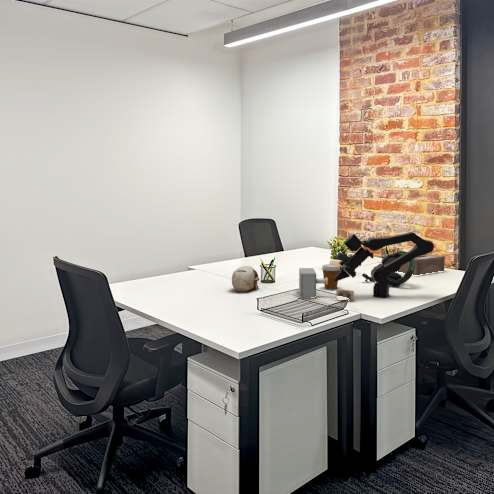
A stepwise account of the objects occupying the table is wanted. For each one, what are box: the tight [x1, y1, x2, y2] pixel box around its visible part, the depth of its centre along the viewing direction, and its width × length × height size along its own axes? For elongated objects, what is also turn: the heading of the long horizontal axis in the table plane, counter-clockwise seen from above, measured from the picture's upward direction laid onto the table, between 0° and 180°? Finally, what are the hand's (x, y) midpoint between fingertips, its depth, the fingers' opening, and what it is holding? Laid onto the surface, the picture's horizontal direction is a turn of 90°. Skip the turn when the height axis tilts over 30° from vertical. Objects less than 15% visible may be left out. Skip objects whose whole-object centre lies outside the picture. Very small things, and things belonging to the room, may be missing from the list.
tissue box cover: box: [398, 253, 446, 275], centre depth 318 cm, size 26×14×10 cm, turn 123°
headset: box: [361, 250, 415, 287], centre depth 280 cm, size 18×14×29 cm
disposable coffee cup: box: [321, 263, 341, 290], centre depth 273 cm, size 10×10×12 cm
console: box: [298, 267, 317, 299], centre depth 258 cm, size 8×16×12 cm, turn 178°
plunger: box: [316, 278, 328, 285], centre depth 254 cm, size 6×3×3 cm, turn 88°
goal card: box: [335, 288, 355, 303], centre depth 244 cm, size 8×1×5 cm, turn 63°
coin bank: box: [231, 265, 260, 293], centre depth 271 cm, size 16×17×13 cm
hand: (334, 280), depth 254 cm, fingers closed
